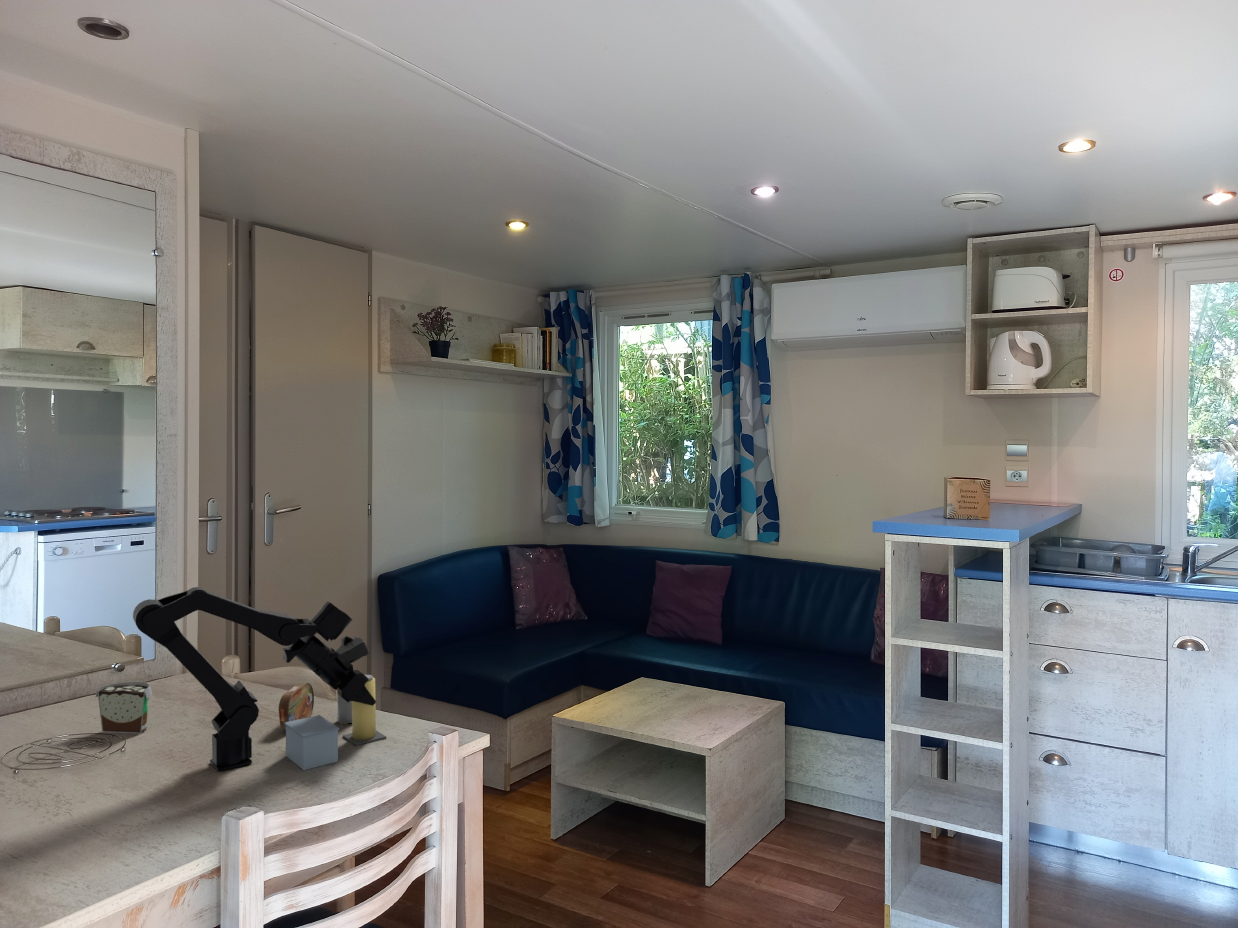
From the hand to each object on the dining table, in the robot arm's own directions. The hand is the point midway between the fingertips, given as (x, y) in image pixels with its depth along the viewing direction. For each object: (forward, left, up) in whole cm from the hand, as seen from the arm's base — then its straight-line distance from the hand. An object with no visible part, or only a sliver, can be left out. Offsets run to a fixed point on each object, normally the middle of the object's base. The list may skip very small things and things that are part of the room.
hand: (370, 700), depth 189 cm
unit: (-15, -5, -8) cm, 18 cm away
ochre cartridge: (-1, 0, -8) cm, 8 cm away
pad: (-1, 0, -8) cm, 8 cm away
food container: (-39, +40, -8) cm, 57 cm away
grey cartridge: (+1, +13, -8) cm, 16 cm away
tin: (-9, +19, -8) cm, 23 cm away
